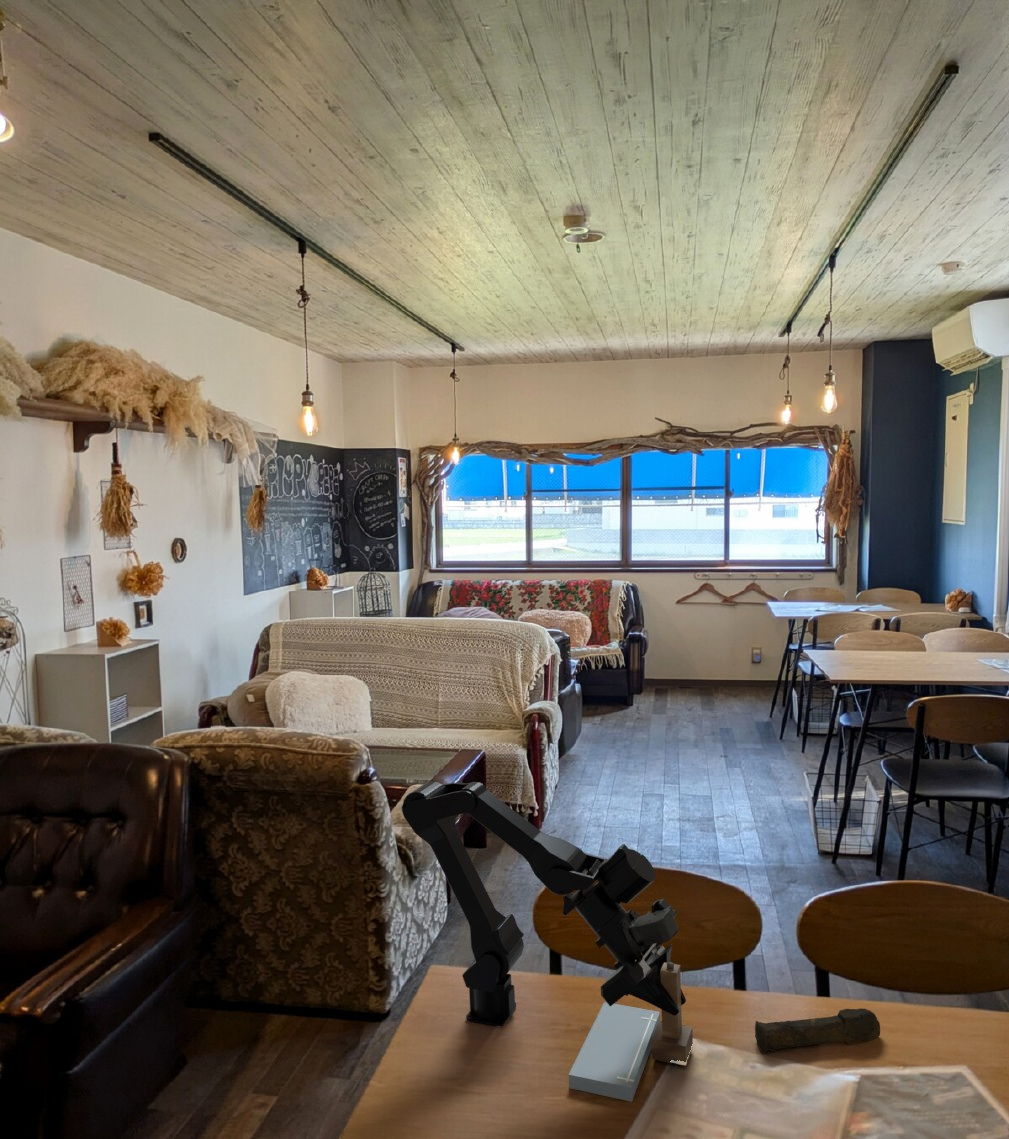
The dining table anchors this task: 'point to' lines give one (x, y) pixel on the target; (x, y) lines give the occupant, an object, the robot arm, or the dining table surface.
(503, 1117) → the dining table surface
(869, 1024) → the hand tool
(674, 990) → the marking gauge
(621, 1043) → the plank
